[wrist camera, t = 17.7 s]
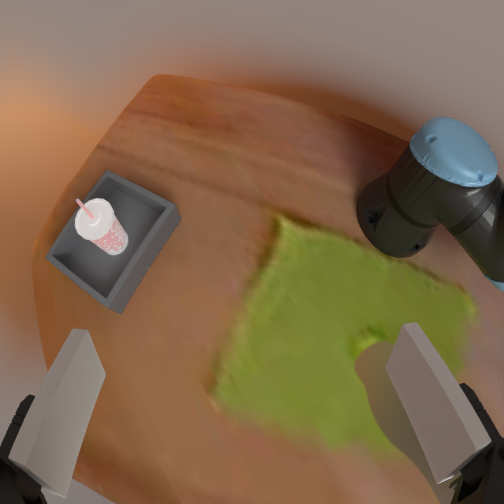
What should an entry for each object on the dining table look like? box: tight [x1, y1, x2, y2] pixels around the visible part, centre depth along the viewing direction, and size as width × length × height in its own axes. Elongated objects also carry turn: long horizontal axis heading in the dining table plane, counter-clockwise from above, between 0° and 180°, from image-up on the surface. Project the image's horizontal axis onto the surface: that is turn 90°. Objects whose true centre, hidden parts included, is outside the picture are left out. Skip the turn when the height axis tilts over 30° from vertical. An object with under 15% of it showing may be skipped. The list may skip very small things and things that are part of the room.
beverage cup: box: [75, 198, 128, 255], centre depth 38 cm, size 6×6×14 cm
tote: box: [45, 170, 181, 314], centre depth 44 cm, size 18×15×5 cm
